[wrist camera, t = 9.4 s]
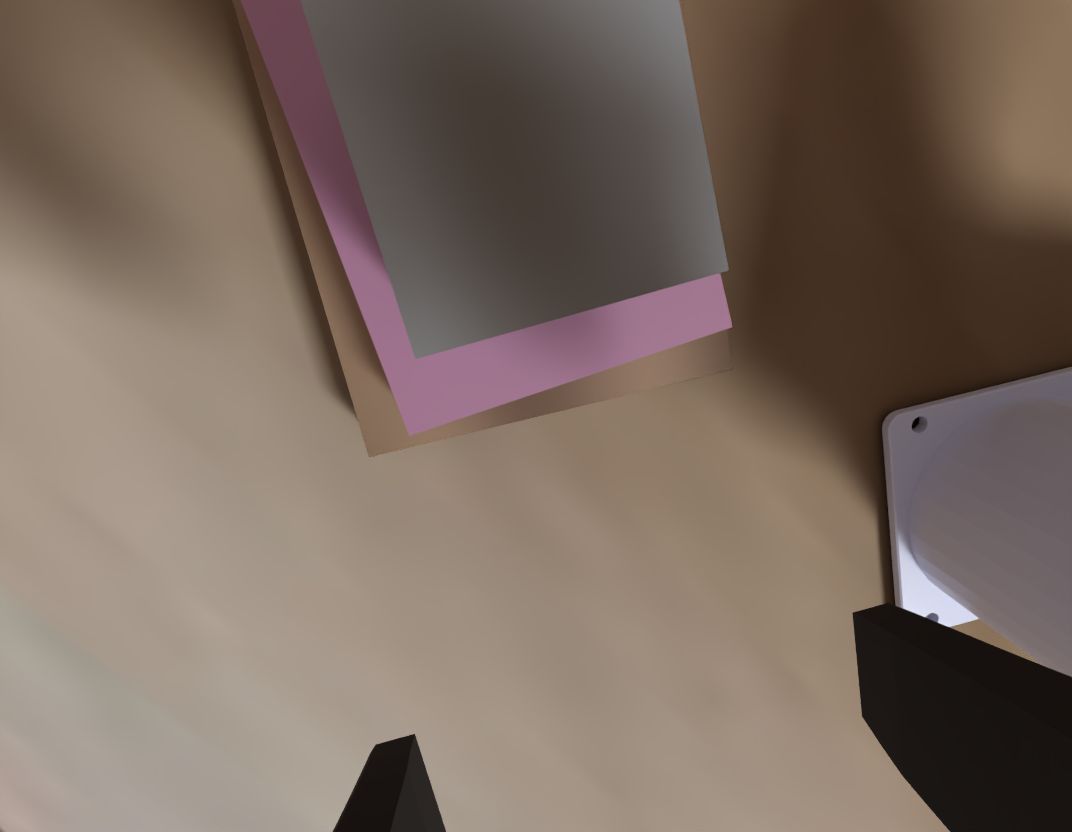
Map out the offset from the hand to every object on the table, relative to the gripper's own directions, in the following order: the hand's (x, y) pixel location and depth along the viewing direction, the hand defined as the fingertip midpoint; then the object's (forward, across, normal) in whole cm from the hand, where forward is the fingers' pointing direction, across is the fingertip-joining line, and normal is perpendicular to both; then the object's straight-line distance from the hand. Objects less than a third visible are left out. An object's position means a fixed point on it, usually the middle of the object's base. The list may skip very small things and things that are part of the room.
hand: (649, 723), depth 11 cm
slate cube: (+6, 0, -9) cm, 11 cm away
